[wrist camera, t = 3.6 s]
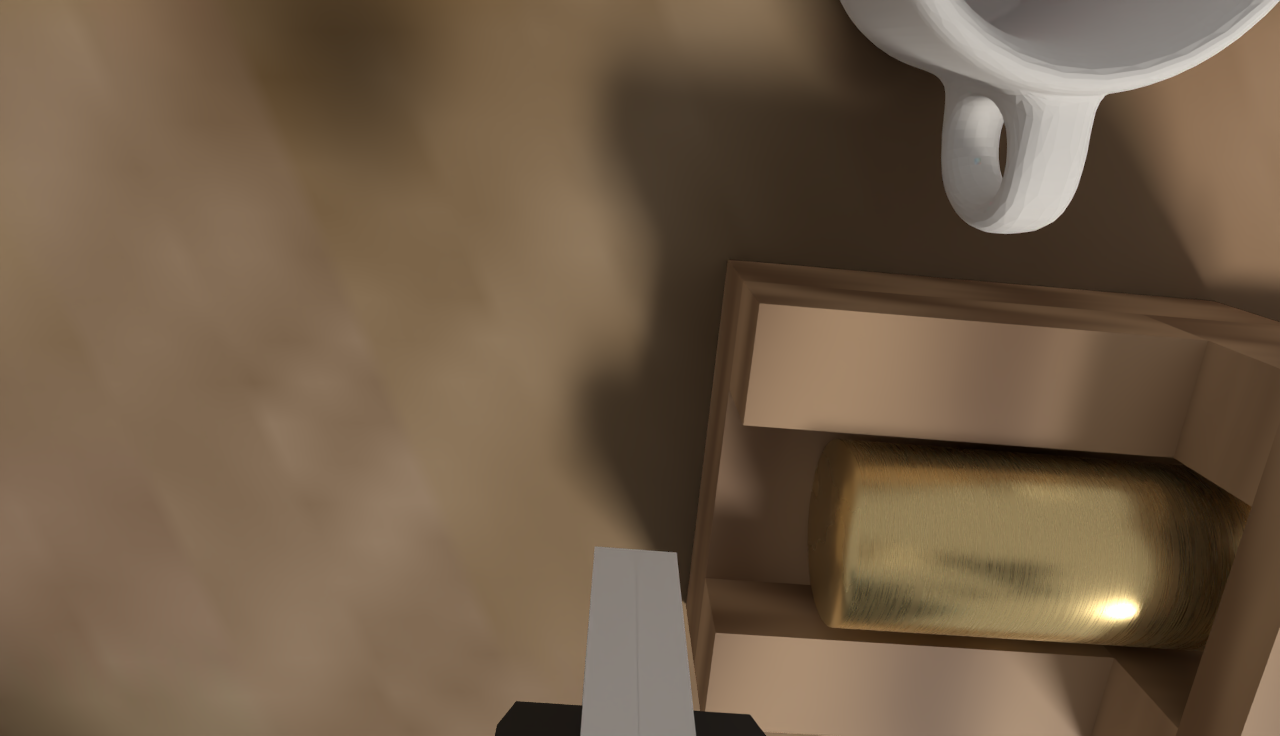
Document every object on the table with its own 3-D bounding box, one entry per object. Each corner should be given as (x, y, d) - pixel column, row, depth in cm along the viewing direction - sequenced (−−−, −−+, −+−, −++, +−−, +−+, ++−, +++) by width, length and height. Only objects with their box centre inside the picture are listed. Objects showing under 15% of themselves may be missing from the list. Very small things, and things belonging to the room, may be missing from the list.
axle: (799, 569, 23) (842, 667, 19) (823, 414, 22) (873, 481, 17) (1295, 602, 23) (1446, 704, 19) (1343, 454, 22) (1514, 528, 18)
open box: (686, 605, 27) (721, 864, 17) (727, 259, 23) (797, 355, 14) (1116, 633, 27) (1365, 895, 18) (1214, 300, 24) (1575, 417, 15)
